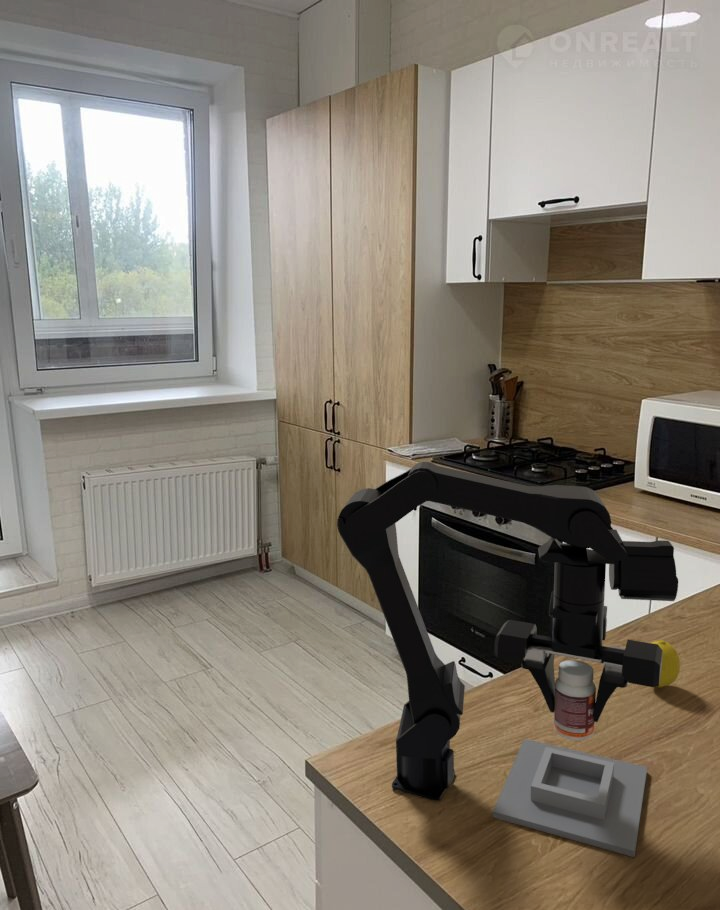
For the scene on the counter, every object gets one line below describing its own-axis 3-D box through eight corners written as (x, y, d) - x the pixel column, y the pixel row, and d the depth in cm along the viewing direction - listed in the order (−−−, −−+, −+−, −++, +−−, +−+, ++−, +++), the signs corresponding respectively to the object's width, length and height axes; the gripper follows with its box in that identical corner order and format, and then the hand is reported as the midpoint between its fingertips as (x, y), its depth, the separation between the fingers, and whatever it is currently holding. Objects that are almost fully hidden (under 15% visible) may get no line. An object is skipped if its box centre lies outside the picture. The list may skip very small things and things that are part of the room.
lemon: (681, 683, 115) (684, 637, 113) (674, 700, 110) (677, 651, 108) (644, 675, 118) (646, 629, 116) (637, 690, 113) (639, 643, 111)
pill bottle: (596, 743, 86) (599, 679, 84) (554, 739, 86) (556, 675, 85) (592, 721, 90) (594, 659, 88) (552, 717, 91) (554, 656, 89)
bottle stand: (492, 817, 86) (492, 796, 86) (524, 743, 101) (524, 725, 100) (634, 857, 80) (635, 835, 79) (646, 772, 94) (647, 753, 93)
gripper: (668, 582, 88) (661, 699, 91) (516, 562, 96) (514, 670, 99) (662, 619, 78) (654, 747, 81) (493, 593, 86) (492, 711, 89)
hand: (574, 715), depth 88 cm, fingers closed on pill bottle, 5 cm apart
